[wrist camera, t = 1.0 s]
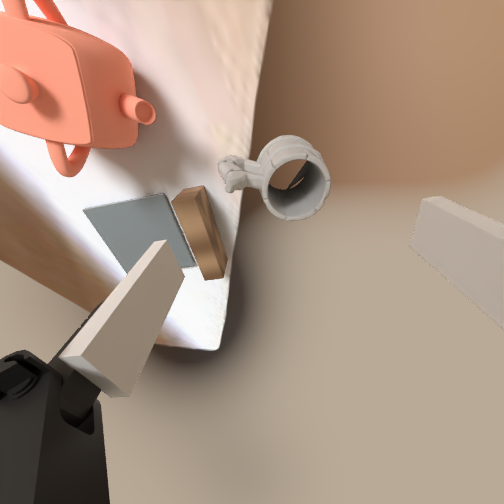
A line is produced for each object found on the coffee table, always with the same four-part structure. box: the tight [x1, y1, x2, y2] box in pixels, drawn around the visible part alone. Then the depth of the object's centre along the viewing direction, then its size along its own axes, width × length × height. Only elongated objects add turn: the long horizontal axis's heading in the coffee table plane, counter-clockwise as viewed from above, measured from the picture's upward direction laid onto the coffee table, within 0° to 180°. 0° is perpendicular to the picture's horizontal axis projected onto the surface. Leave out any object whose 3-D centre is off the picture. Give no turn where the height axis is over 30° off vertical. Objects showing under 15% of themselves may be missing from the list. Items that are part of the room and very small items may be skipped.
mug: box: [218, 135, 331, 221], centre depth 22 cm, size 8×12×12 cm, turn 81°
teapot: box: [0, 0, 156, 177], centre depth 19 cm, size 14×12×10 cm
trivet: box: [83, 193, 195, 274], centre depth 34 cm, size 13×13×1 cm
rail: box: [171, 186, 227, 281], centre depth 30 cm, size 13×3×5 cm, turn 11°
